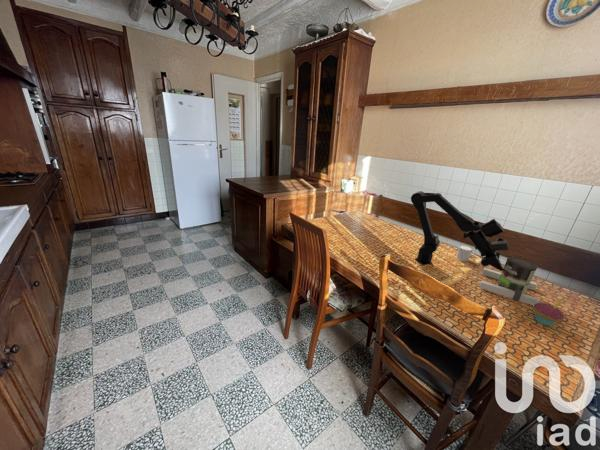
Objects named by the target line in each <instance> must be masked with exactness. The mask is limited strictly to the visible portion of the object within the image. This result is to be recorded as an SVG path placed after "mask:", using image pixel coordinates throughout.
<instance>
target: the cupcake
mask: <svg viewBox="0 0 600 450" xmlns="http://www.w3.org/2000/svg"><path fill="white" fill-rule="evenodd" d="M564 298H565V297H564V296H563V297H561V298H559V300H558V302H556V304H555V305H552V304H550V303H546V302H545V303H544V302H540V303H536V304H535V305H534V306H532V307H531V309H532V312H534V318H535V321H536V320H537V321H536V322H537V323H539V322H540V323H539V324H541V323H542V324H541V325H543V324H544V325H543V326H546V325H548V326H547V327H551V326H553V325H555V324H556V323H559V322H563V321H564V319H565V314H564V312H563V311H562V310H560V308H558V306H559V305H560V304H561V302H562V301H563V300H564Z"/></svg>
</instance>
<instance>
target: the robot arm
mask: <svg viewBox="0 0 600 450" xmlns="http://www.w3.org/2000/svg"><path fill="white" fill-rule="evenodd" d="M410 201H411V204H412V205H413V207H414V208H415V210H416V212H417V214H418V215H417V216H418V219H419V222H420V224H421V229H422V232H423V235H424V236H423V237H424V238H423V244H421V247H420V248H419V249H418V254H417V257H415V258H414V260H415V261H417V262H418V263H419V264H420V265H422V266H425V265H433V262H432V261H433V260H432V259H433V256H434V255H433V253H435V252H436V251H437V249H439V246H440V243H441V241H440V239H439V235H436V234H434V231H433V227H432V223H431V219H430V218H429V217H430V216H429V213H428V210H427V203H436V205H437V206H439V207H440V208H441V209H442V210H443V211H444V212H445V213H446V214H447V215H449V216H450V217H451V218H452V219H453V220H454V223H455V224H456V225H457V227H458V229H460V230H461V231H462V232H463V236H462V239H463V240H464V239H466V238H468V239H469V240H470V241H471V243H472V244H473V246H474V249H475V250H478V252H479V253H480V257H481V260H480V264H481V265H482V267H487V266H491V267H493V268H495V269H497V270H498V271H499V272H500V271H501V272H502V271H503V269H504V267H503V265H502V263H501V261H500V254H501V253H500V252H497V251H508V250H509V248H510V247H509V242H508V240H507V239H504V238H503V237H498V238H497V239H496V240H495V241H492V240H491V239H488V238H493V237H495V236H497V235H500V234H503V233H504V232H506V231H505V229H504V227H503V226H502V225H501V223H499V222H498V221H497V220H496V219H495V218H493V219H490V220H489V221H487V222H484V223H482V222H479V221H475V219H474V218H472V217H470V215H467V214H465V213H462V212H461V211H460V210H459V209H458V208H456V207H455V206H454V205H453V204H452V203H451V201H450V202H449V200H448V199H446V197H444V196H443V195H442V193H440V192H424V191H422V190H419V191H416V192H415V193H412V195H411V197H410Z"/></svg>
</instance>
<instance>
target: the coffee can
mask: <svg viewBox="0 0 600 450" xmlns="http://www.w3.org/2000/svg"><path fill="white" fill-rule="evenodd" d="M505 261H506V262H505V264H504V267H503V271H501V273H502V274H501V276H500V279H499V280H497V283H496V285H498V286H501V287H504V288H507V289H510V290H513V291H515V289H518V290H521V291H522V293H523V294H526V292H527V290H528V286H529V284H530V282H532V280H533V277H534V275H535V273H536V271H537V269H538V265H537V264H535V263H534V262H532V261H530V260H527V259H525V258H520V257H516V256H509V257H507V258H506V260H505Z"/></svg>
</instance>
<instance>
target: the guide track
mask: <svg viewBox="0 0 600 450" xmlns="http://www.w3.org/2000/svg"><path fill="white" fill-rule="evenodd" d="M501 274H502V272H500V271H497V270H492V269H489V268H486V267H483V270H482V272H481V275H483V276H486V277H489V278H493V279H495V280H497V281H499V279H500V276H501ZM537 286H538V284H537V282H533V281H531V282H530V284H529V286H528V288H527V290H531V289H532V290H531V291H536V288H537ZM478 288H479V289H481V290H485V291H488V292H491V293H493V294H497V295H500V296H502V297H506V298H509V299H511V300H514V301H517V302H521V303H524V304H526V303H527V304H526V305H529V304H530V306H532V305H535V304H536V303H541V299H540V298H539V297H535V296H532V295H529V294H526V293H525V294H523V293H522V291H521V290H518V289H515V291H513V290H510V289H507V288H504V287H501V286H498V285H497V284H494V283H491V282H488V281H485V280H481V281H480V283H479V287H478Z"/></svg>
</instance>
